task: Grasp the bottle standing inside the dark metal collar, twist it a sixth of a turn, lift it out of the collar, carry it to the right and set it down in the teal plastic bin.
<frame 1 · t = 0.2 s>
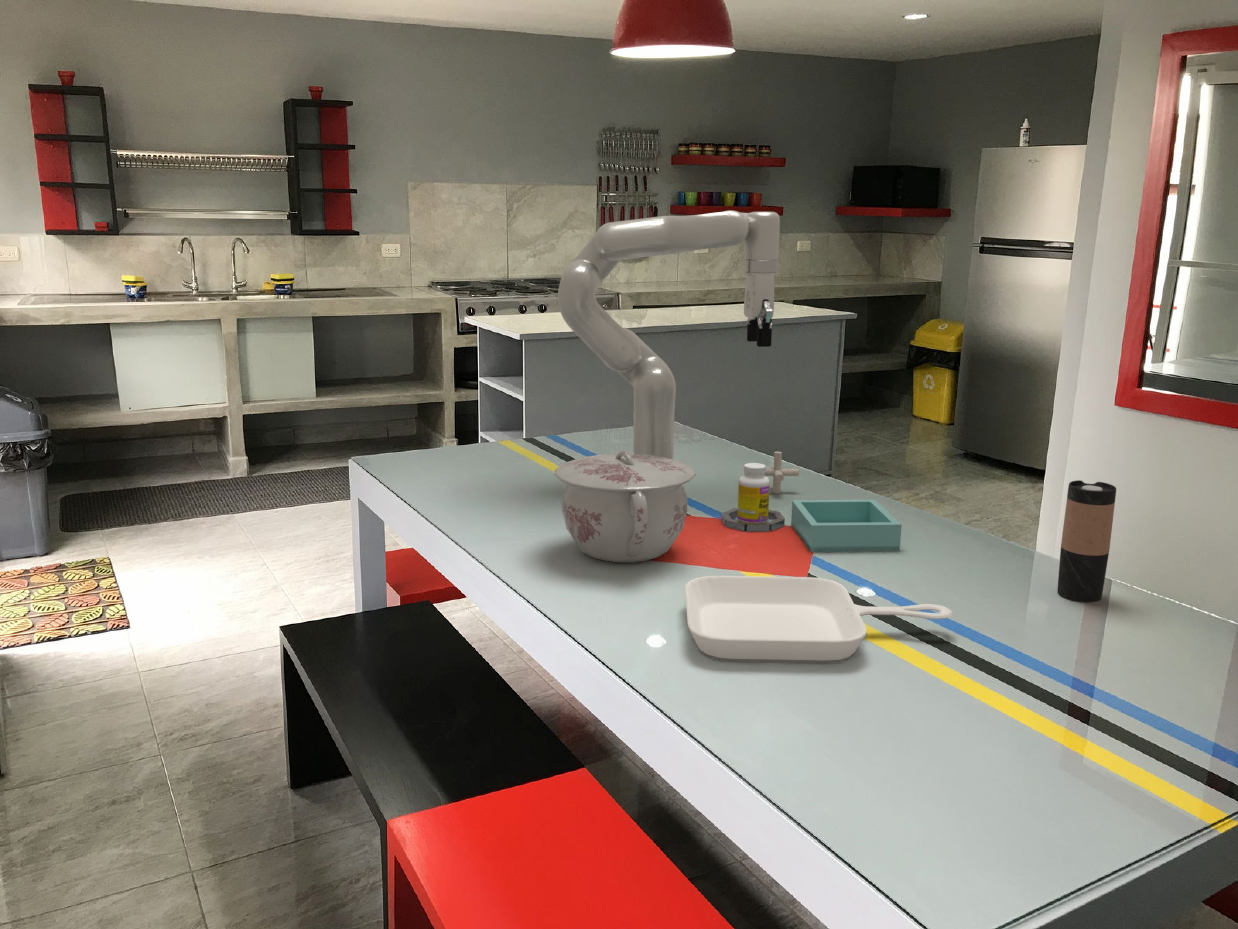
hand: (758, 343, 229), 36 cm above the table, tool pointing down, fingers open, 9 cm apart
pan: (817, 634, 160), on the table
pipe connector: (776, 493, 241), on the table
bin: (843, 537, 207), on the table
chamber pot: (623, 553, 198), on the table
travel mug: (1079, 596, 176), on the table
supplement bottle: (752, 523, 217), resting in collar
collar: (752, 522, 217), on the table
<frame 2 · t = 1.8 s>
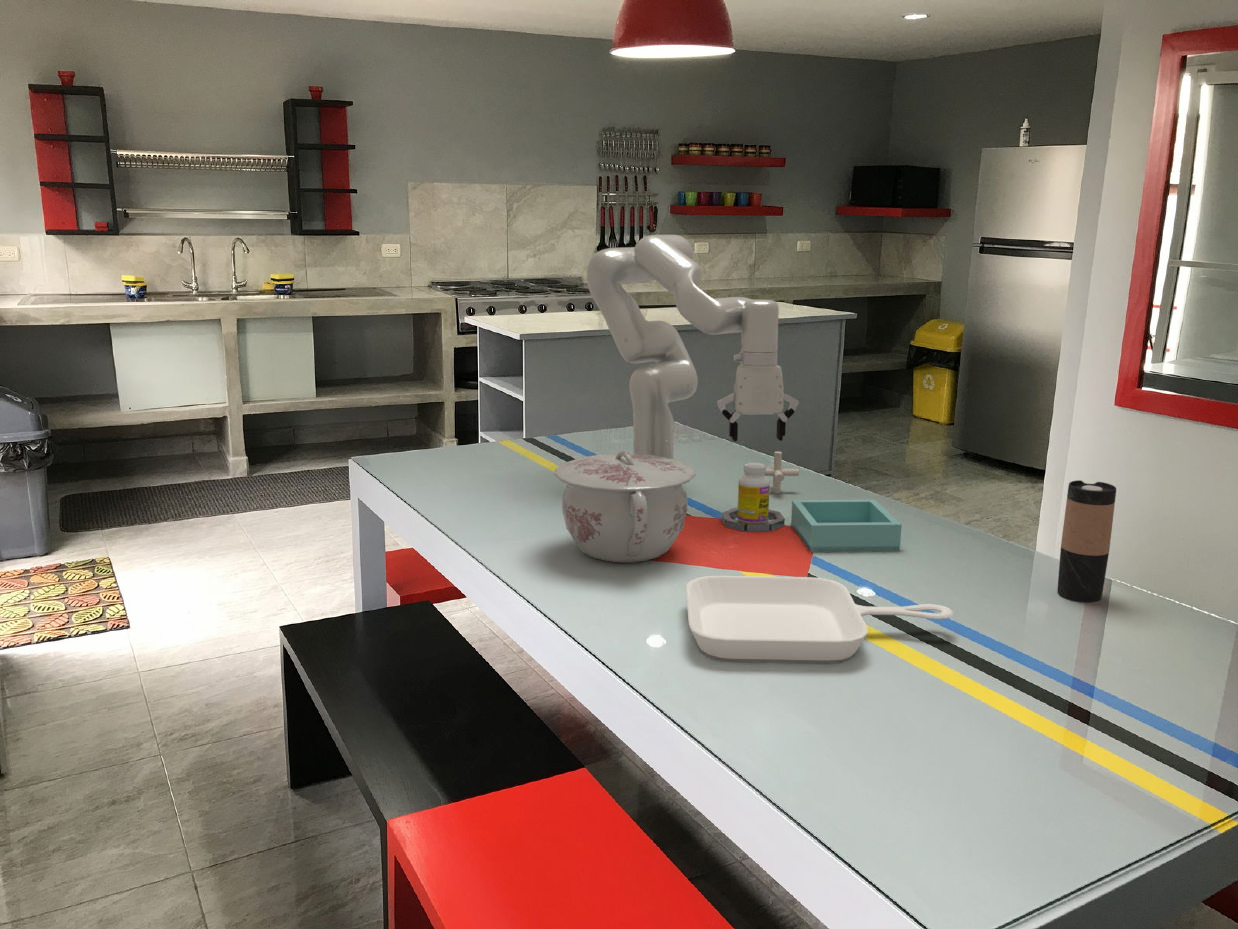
hand: (757, 439, 213), 18 cm above the table, tool pointing down, fingers open, 9 cm apart
nothing on the table moved.
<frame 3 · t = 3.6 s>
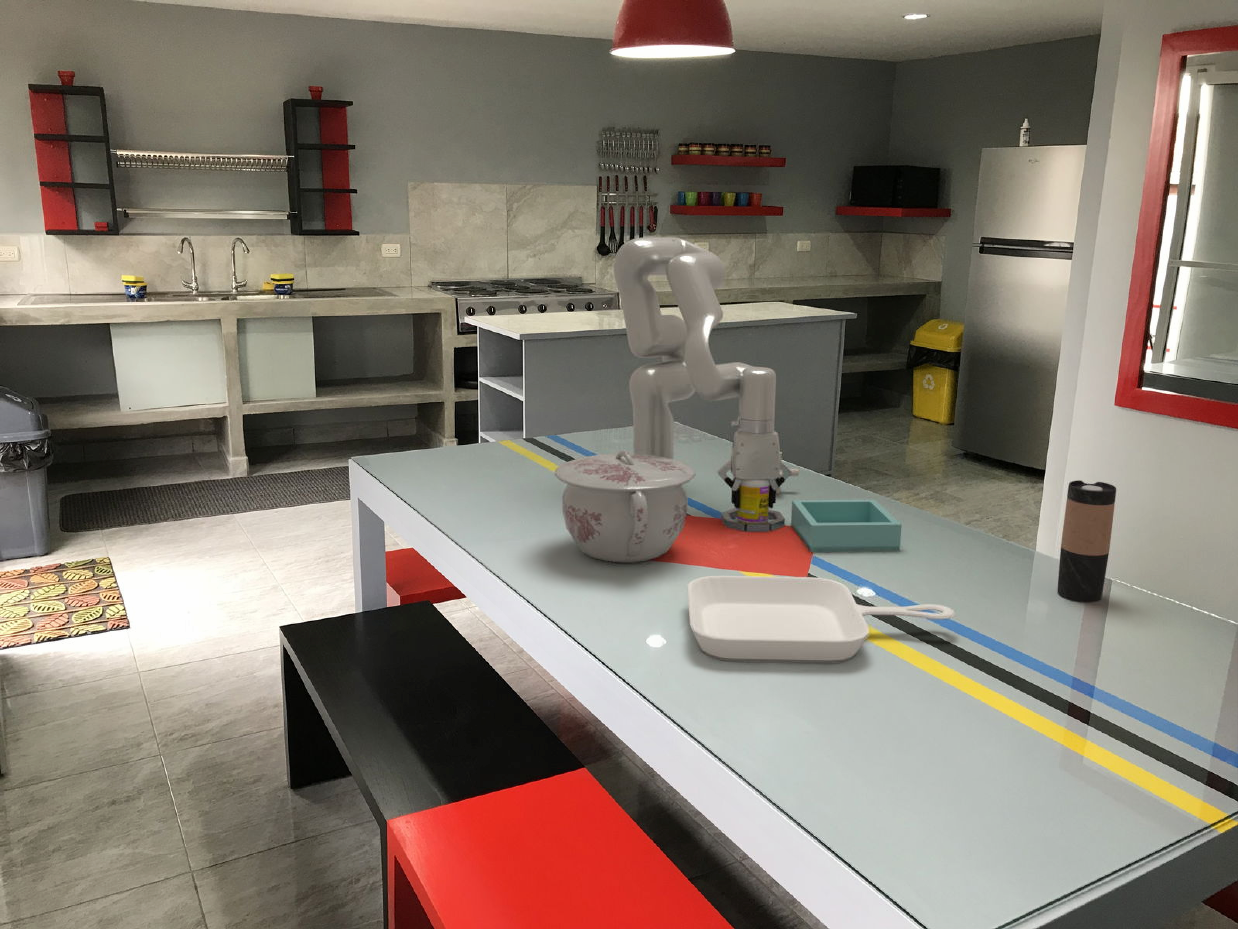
hand: (753, 506, 216), 4 cm above the table, tool pointing down, fingers closed on supplement bottle, 6 cm apart
supplement bottle: (752, 523, 217), resting in collar, touching gripper
everything else where it was.
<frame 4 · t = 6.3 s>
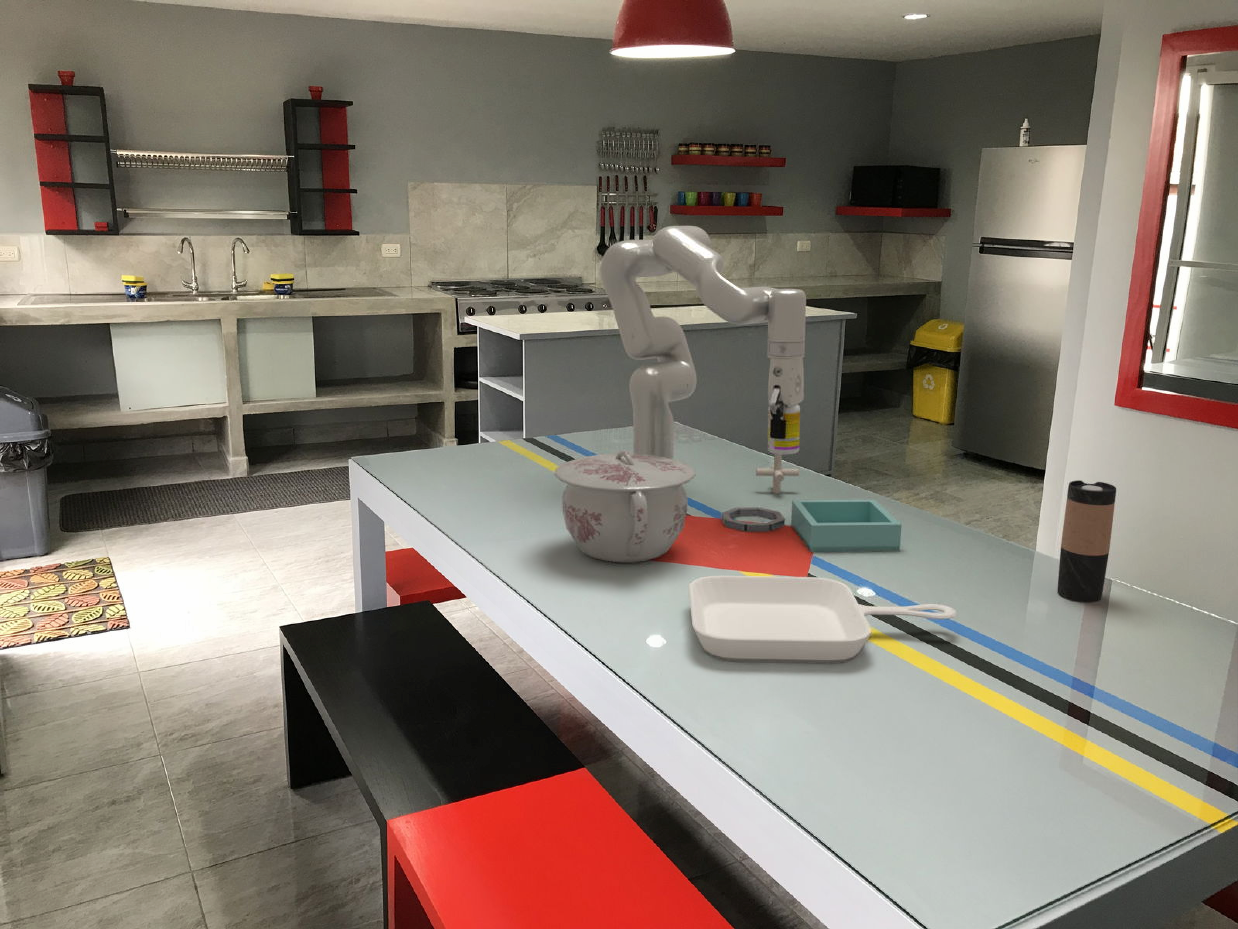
hand: (783, 434, 209), 20 cm above the table, tool pointing down, fingers closed on supplement bottle, 6 cm apart
supplement bottle: (783, 452, 210), point 16 cm above the table, touching gripper
everything else where it was.
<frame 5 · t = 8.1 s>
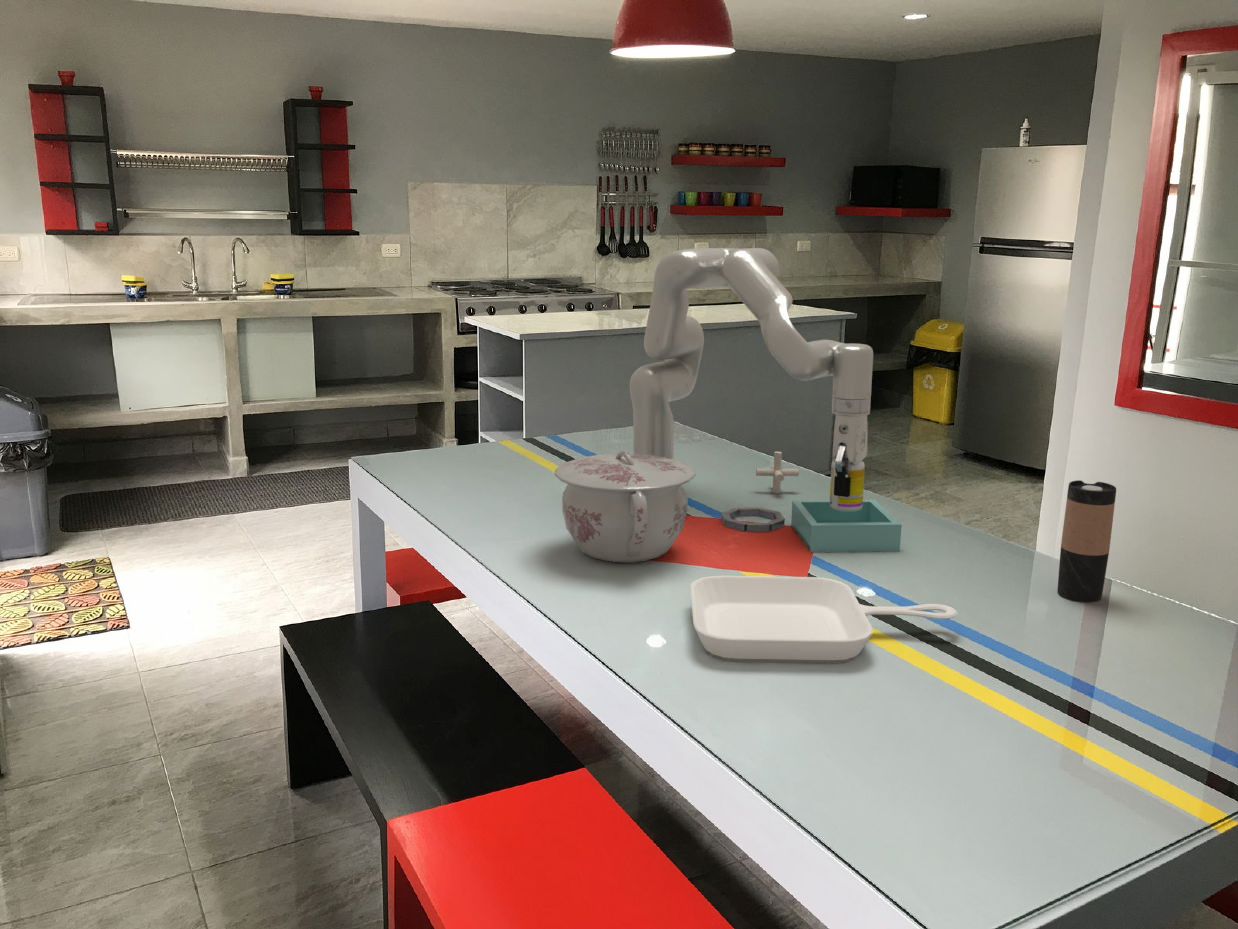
hand: (846, 490, 205), 10 cm above the table, tool pointing down, fingers closed on supplement bottle, 6 cm apart
supplement bottle: (845, 509, 206), point 6 cm above the table, touching gripper
everything else where it was.
when the fingers open (7 cm above the table, at t = 9.4 s): supplement bottle drops 2 cm, resting on bin.
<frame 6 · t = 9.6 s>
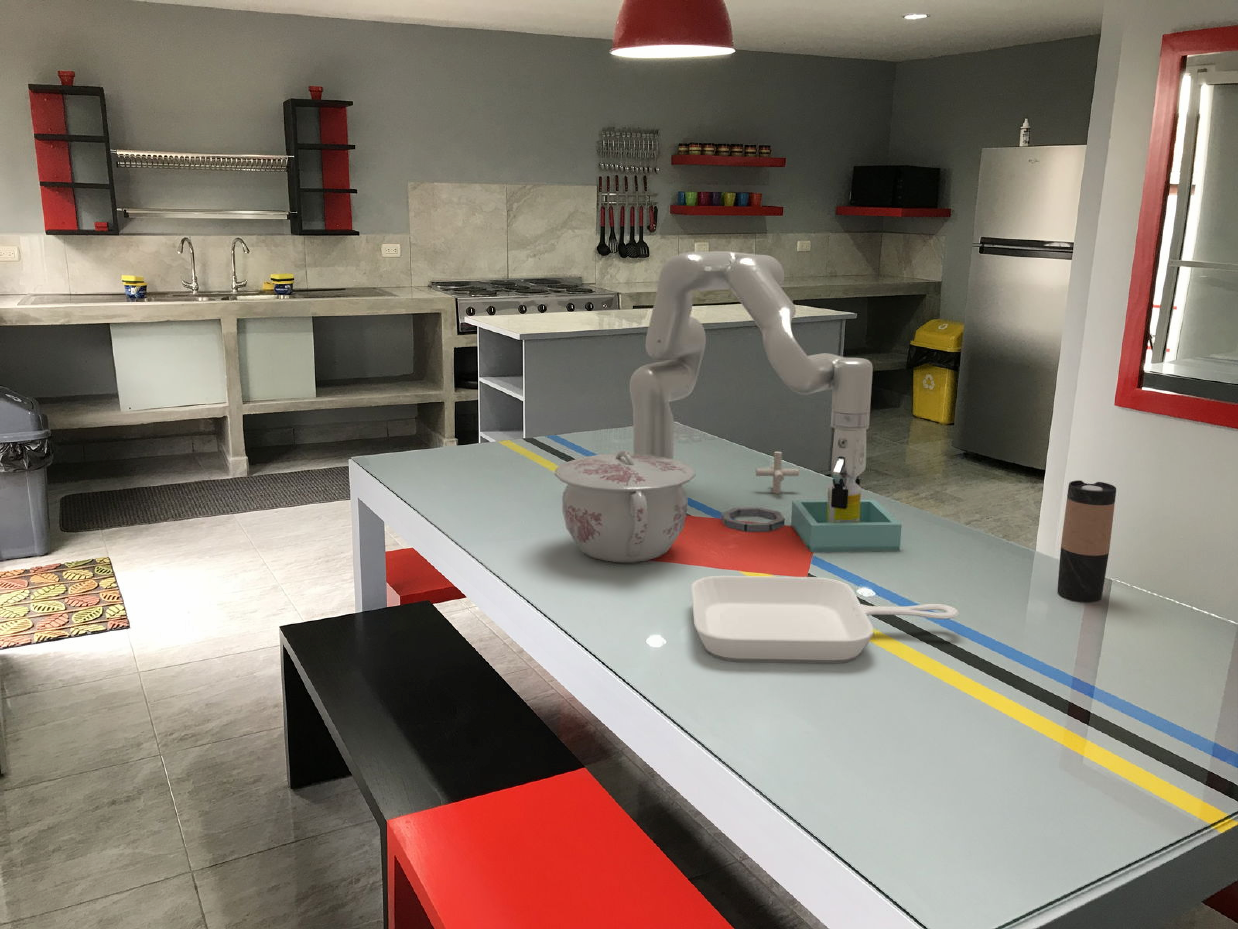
hand: (845, 502, 206), 8 cm above the table, tool pointing down, fingers open, 8 cm apart
supplement bottle: (842, 533, 207), point 1 cm above the table, touching bin
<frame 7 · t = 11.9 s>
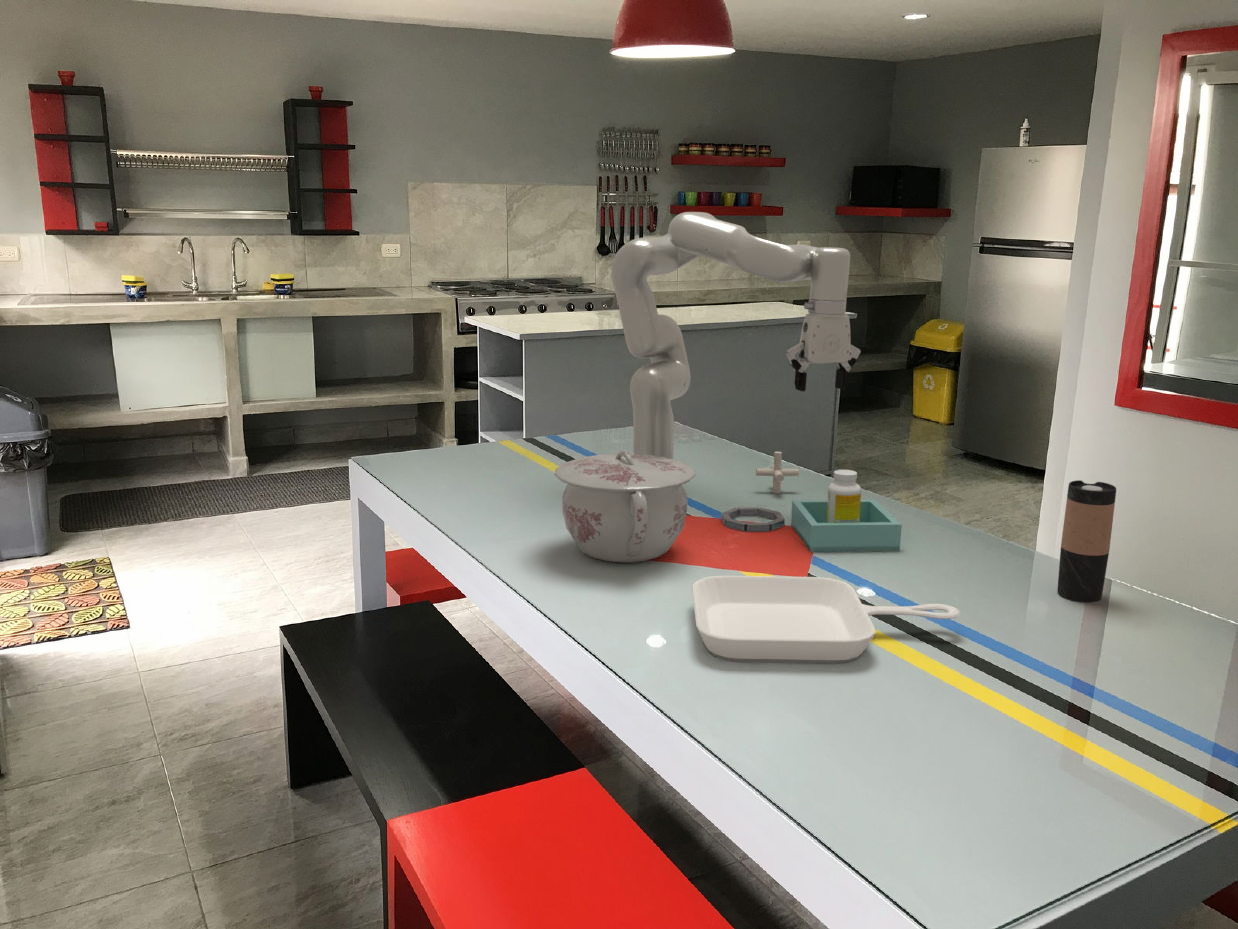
hand: (820, 389, 212), 29 cm above the table, tool pointing down, fingers open, 9 cm apart
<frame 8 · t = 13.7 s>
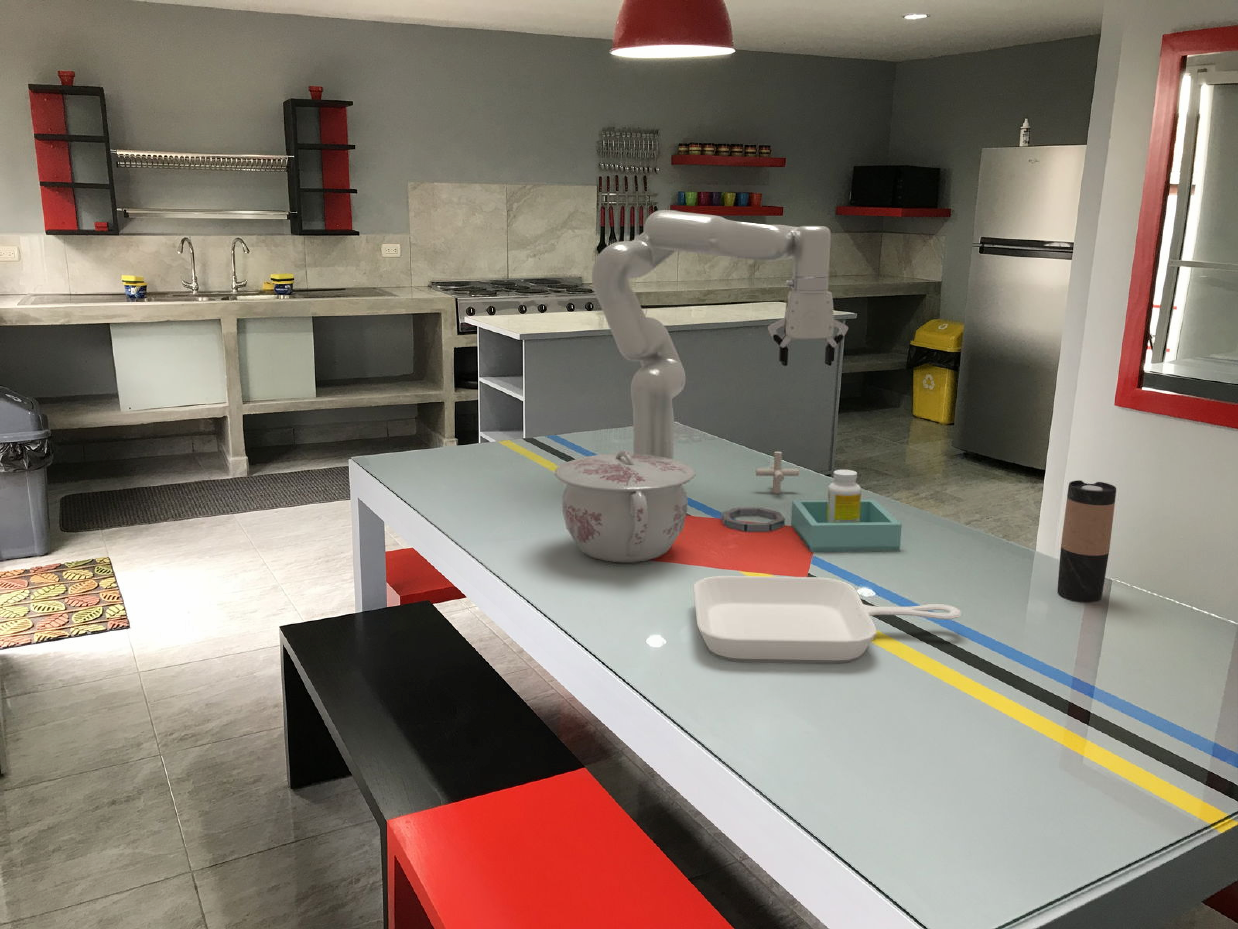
hand: (806, 364, 218), 33 cm above the table, tool pointing down, fingers open, 9 cm apart
at the end: supplement bottle inside the target area on the bin (0.4 cm from its centre), point 0.8 cm above the bin's base; the gripper is holding nothing; supplement bottle touching bin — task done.
